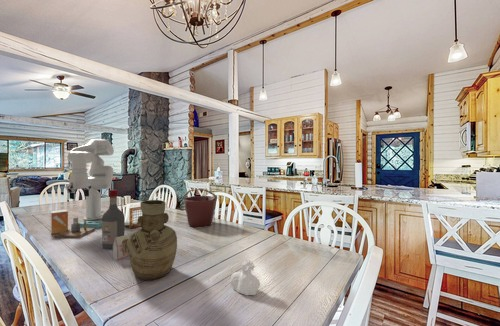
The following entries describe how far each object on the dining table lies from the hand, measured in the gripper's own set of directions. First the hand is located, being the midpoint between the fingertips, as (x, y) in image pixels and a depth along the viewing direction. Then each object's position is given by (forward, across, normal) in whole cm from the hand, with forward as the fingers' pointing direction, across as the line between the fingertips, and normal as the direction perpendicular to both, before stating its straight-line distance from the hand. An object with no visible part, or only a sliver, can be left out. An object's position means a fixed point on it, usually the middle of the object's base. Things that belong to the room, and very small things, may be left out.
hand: (79, 197), depth 151 cm
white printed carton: (+20, +26, +58) cm, 67 cm away
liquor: (+20, +16, +44) cm, 51 cm away
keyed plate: (+21, -6, +2) cm, 22 cm away
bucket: (+21, -35, +68) cm, 79 cm away
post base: (+21, +8, +6) cm, 23 cm away
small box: (+21, +8, -7) cm, 23 cm away
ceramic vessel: (+20, +35, +83) cm, 92 cm away
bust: (+20, +35, +123) cm, 130 cm away
